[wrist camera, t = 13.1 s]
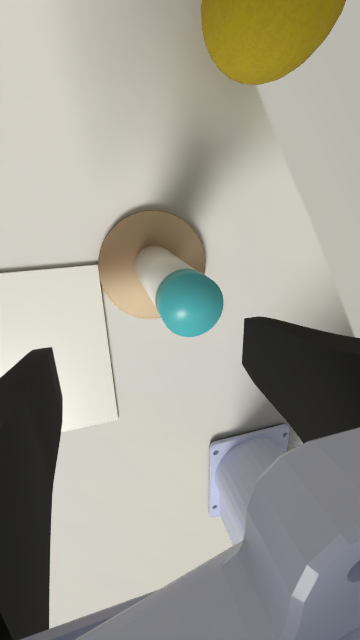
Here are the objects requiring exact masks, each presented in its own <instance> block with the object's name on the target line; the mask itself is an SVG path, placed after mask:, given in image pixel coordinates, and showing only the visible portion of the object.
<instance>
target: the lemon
mask: <svg viewBox="0 0 360 640" xmlns="http://www.w3.org/2000/svg"><path fill="white" fill-rule="evenodd" d="M345 2H346V0H202V6H201V13H202V31H203V35H204V40H205V44H206V47H207V49H208V52H209V54H210V56H211V58H212V60H213V61H214V63H215V64H216V65H217V67H218V68H219V70H220V71H222V72H223V73H224V74H225V75H226V76H227V77H229V78H230V79H233V80H235V81H237V82H240V83H242V84H254V85H259V84H263V83H267V82H271V81H275V80H278V79H280V78H282V77H283V76H285V75H287V74H288V73H290V72H291V71H293V70H294V69H296V68H297V67H299V66H300V65H301V64H302V63H304V62H305V61H306V59H308V58H309V57H310V55H311V54H312V53H313V52H314V51H315V50H316V49H317V48H318V47H319V46H320V45H321V43H322V42H323V41H324V40H325V39H326V37H327V36H328V35H329V33H330V31H331V29H332V28H333V26H334V24H335V23H336V21H337V19H338V17H339V16H340V14H341V12H342V10H343V7H344V5H345Z"/></svg>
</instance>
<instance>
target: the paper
mask: <svg viewBox="0 0 360 640" xmlns="http://www.w3.org/2000/svg"><path fill="white" fill-rule="evenodd" d="M48 347H52V349H53V354H54V359H55V364H56V368H57V373H58V378H59V382H60V387H61V392H62V397H63V416H62V428H61V432H64V431H69V430H74V429H78V428H83V427H88V426H92V425H97V424H102V423H106V422H111V421H116V420H118V414H117V407H116V399H115V392H114V384H113V377H112V369H111V361H110V354H109V346H108V339H107V331H106V324H105V316H104V308H103V301H102V293H101V286H100V278H99V271H98V264H96V265H84V266H73V267H61V268H50V269H39V270H27V271H16V272H4V273H0V378H1V377H2V376H3V375H4V374H5V373H6V372H7V371H9V370H10V369H11V368H12V367H13V366H14V365H15V364H16V363H18V362H19V361H20V360H21V359H22V358H23V357H24V356H25V355H27V354H28V353H29V352H30V351H32V350H34V349H41V348H48Z"/></svg>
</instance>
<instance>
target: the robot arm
mask: <svg viewBox="0 0 360 640" xmlns="http://www.w3.org/2000/svg"><path fill="white" fill-rule="evenodd" d="M242 364H243V366H244V368H245V369H246V371H247V373H248V375H249V376H250V378H251V379H252V381H253V382H254V383H255V385H256V386H257V387H258V388H259V389H260V391H261V392H262V393H263V394H264V395H265V397H266V398H267V399H268V400H269V401H270V402H271V403H272V405H273V406H274V407H275V408H276V409H277V410H278V411H279V413H280V414H281V415H282V416H283V417H284V418H285V420H286V421H287V422H288V423H289V424H290V426H291V427H292V428H293V429H294V431H295V432H296V433H297V435H298V436H299V438H300V439H301V441H302V442H303V443H304V444H302V445H300V446H298V447H296V448H294V449H292V450H290V451H288V452H287V446H288V439H289V432H290V427H289V426H288V425H287V424H282V425H278V426H274V427H270V428H266V429H262V430H258V431H254V432H250V433H246V434H242V435H238V436H234V437H230V438H226V439H222V440H218V441H214V442H212V443H211V444H210V447H209V515H210V516H211V517H216V516H219V515H220V516H221V519H222V521H223V523H224V526H225V528H226V530H227V533H228V535H229V537H230V540H231V542H232V544H233V546H232V547H231V548H229V549H227V550H225V551H224V552H222V553H220V554H219V555H217V556H215V557H214V558H212V559H210V560H209V561H207V562H205V563H203V564H202V565H200V566H198V567H197V568H195V569H193V570H192V571H190V572H188V573H187V574H185V575H183V576H181V577H180V578H178V579H176V580H175V581H173V582H171V583H170V584H168V585H166V586H165V587H163V588H161V589H159V590H156V591H154V592H151V593H148V594H145V595H143V596H140V597H137V598H134V599H131V600H129V601H126V602H123V603H120V604H118V605H115V606H112V607H109V608H106V609H104V610H101V611H98V612H95V613H93V614H90V615H87V616H84V617H81V618H79V619H76V620H73V621H70V622H68V623H65V624H62V625H59V626H56V627H54V628H51V629H49V576H50V535H51V508H52V491H53V481H54V474H55V468H56V461H57V455H58V448H59V442H60V435H61V428H62V416H63V397H62V392H61V387H60V382H59V378H58V373H57V368H56V364H55V359H54V354H53V349H52V347H48V348H41V349H34V350H32V351H30V352H29V353H28V354H27V355H25V356H24V357H23V358H22V359H21V360H20V361H19V362H18V363H16V364H15V365H14V366H13V367H12V368H11V369H10V370H9V371H7V372H6V373H5V374H4V375H3V376H2V377H1V378H0V640H360V338H355V337H348V336H343V335H337V334H333V333H328V332H324V331H319V330H315V329H311V328H307V327H303V326H299V325H296V324H292V323H288V322H284V321H280V320H276V319H272V318H267V317H252V318H245V319H244V337H243V354H242ZM214 451H215V452H214Z"/></svg>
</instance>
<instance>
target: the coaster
mask: <svg viewBox="0 0 360 640" xmlns="http://www.w3.org/2000/svg"><path fill="white" fill-rule="evenodd" d="M148 246H161V247H163V248H165V249H166V250H168V251H169V252H170V253H172V254H173V255H175V256H176V257H178V258H179V259H180V260H182V261H183V262H185V263H186V264H188V265H189V266H190V267H192V268H193V269H195V270H197V271H199V272H201V273H202V274H204V273H205V254H204V249H203V246H202V243H201V241H200V239H199V237H198V235H197V234H196V232H195V231H194V230H193V229H192V228H191V226H190V225H188V224H187V223H186V222H185V221H183V220H182V219H180V218H179V217H177V216H175V215H172V214H169V213H166V212H161V211H143V212H139V213H135V214H133V215H130V216H128V217H126V218H125V219H123V220H121V221H120V222H119V223H118V224H116V225H115V226H114V228H113V229H112V230H111V231H110V232H109V234H108V235H107V236H106V238H105V240H104V242H103V244H102V247H101V250H100V254H99V261H98V270H99V276H100V281H101V284H102V287H103V289H104V291H105V293H106V295H107V296H108V298H109V299H110V300H111V301H112V302H113V303H114V305H116V306H117V307H118V308H119V309H120V310H122V311H124V312H125V313H127V314H129V315H132V316H135V317H138V318H144V319H157V318H161V316H160V315H159V313H158V311H157V308H156V306H155V305H154V303H153V301H152V300H151V298H150V297H149V295H148V294H147V292H146V290H145V289H144V287H143V286H142V284H141V282H140V281H139V279H138V278H137V276H136V274H135V271H134V261H135V258H136V256H137V255H138V253H139V252H140V251H141V250H142V249H144V248H146V247H148Z"/></svg>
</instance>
